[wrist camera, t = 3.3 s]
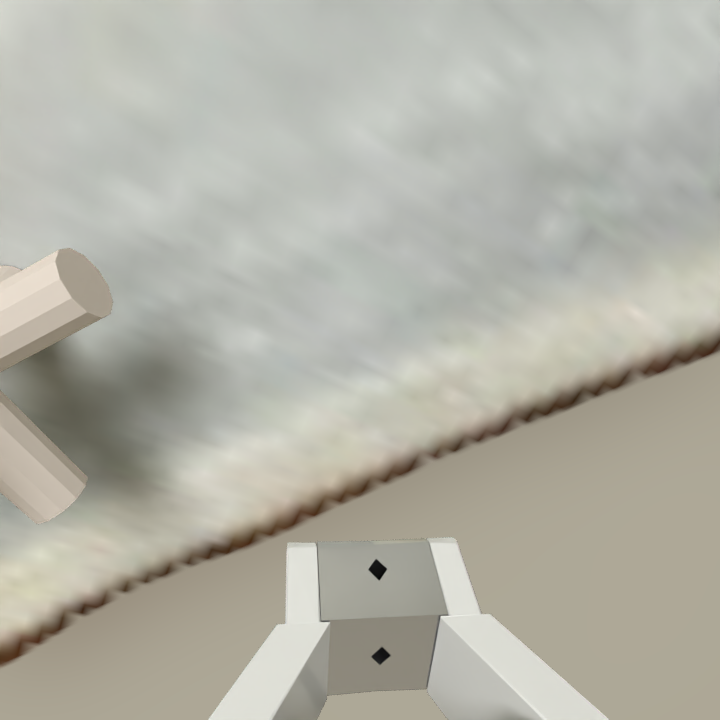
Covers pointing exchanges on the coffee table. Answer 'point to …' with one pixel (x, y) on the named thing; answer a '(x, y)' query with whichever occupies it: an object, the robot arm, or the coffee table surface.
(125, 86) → the coffee table surface
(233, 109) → the coffee table surface
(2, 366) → the pipe connector
